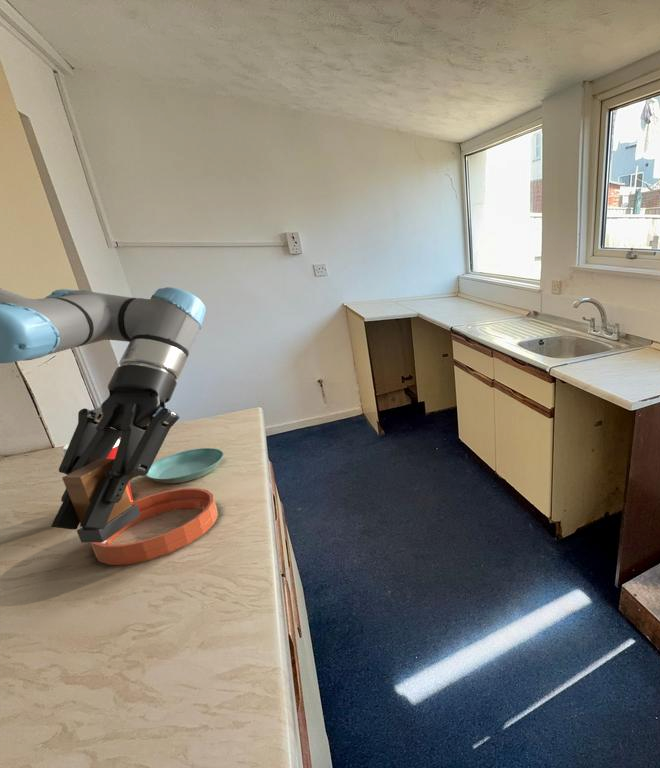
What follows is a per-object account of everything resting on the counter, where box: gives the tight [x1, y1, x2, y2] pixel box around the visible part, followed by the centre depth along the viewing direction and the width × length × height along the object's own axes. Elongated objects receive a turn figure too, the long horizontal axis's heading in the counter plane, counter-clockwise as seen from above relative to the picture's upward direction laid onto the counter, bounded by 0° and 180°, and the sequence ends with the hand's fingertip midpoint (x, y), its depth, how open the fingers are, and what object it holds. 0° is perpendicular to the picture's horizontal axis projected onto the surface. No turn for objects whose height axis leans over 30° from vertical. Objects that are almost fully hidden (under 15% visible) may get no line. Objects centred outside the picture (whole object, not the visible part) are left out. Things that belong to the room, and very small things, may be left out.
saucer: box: [145, 447, 224, 484], centre depth 95 cm, size 15×15×3 cm
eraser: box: [61, 459, 141, 544], centre depth 56 cm, size 6×3×10 cm, turn 1°
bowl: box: [89, 487, 219, 566], centre depth 73 cm, size 17×17×4 cm
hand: (78, 527), depth 53 cm, fingers closed on eraser, 3 cm apart
